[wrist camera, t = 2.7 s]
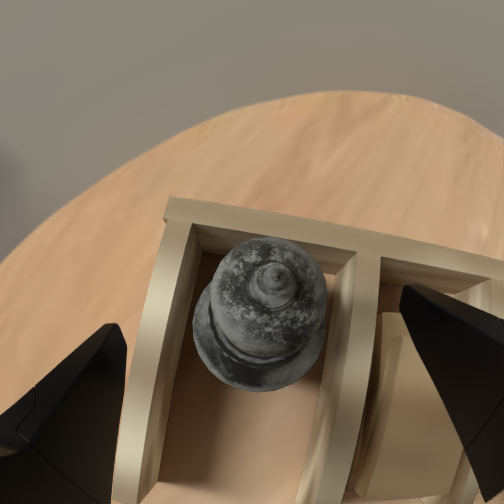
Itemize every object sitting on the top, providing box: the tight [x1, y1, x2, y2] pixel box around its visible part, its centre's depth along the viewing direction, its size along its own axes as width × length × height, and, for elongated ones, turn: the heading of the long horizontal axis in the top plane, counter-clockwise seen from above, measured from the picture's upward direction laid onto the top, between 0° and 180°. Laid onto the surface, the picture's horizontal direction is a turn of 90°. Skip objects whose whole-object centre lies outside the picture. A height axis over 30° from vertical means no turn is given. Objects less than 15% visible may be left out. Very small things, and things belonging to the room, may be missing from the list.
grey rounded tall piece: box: [192, 236, 328, 392], centre depth 11 cm, size 6×6×12 cm
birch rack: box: [112, 196, 504, 504], centre depth 14 cm, size 15×19×4 cm
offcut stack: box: [345, 312, 463, 501], centre depth 14 cm, size 10×6×4 cm, turn 170°
